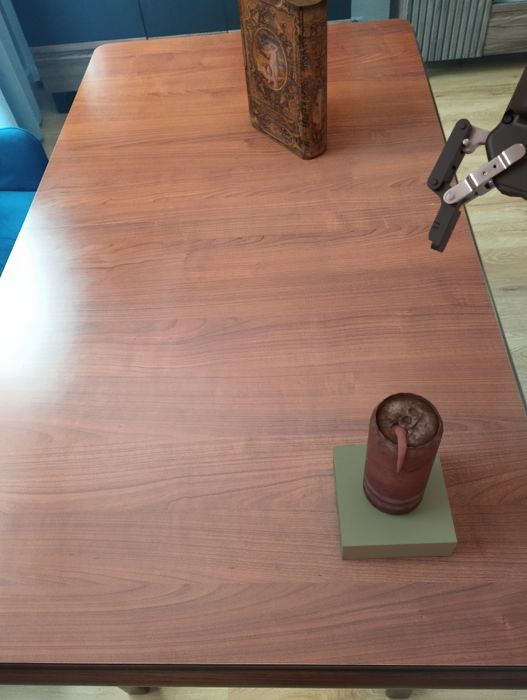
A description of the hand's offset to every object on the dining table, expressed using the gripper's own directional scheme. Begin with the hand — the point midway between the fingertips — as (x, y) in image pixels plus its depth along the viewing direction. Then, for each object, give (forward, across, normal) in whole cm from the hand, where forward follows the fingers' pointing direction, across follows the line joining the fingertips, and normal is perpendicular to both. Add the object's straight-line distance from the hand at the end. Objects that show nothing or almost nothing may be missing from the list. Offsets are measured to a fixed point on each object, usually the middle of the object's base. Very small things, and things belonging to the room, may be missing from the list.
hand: (484, 269), depth 48 cm
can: (+24, 0, +7) cm, 25 cm away
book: (-10, -49, +46) cm, 68 cm away
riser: (+26, 0, +10) cm, 28 cm away
